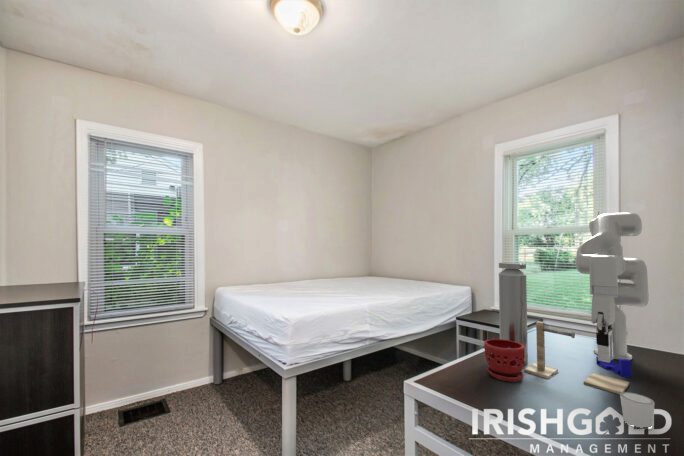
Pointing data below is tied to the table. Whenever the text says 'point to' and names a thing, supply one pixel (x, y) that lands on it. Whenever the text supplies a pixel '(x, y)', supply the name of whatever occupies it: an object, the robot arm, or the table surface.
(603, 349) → the c link
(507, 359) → the plant pot
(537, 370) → the stand
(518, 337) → the grey metal bottle
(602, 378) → the mat
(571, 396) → the table surface
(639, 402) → the shot glass
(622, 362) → the cable clip
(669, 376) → the table surface
